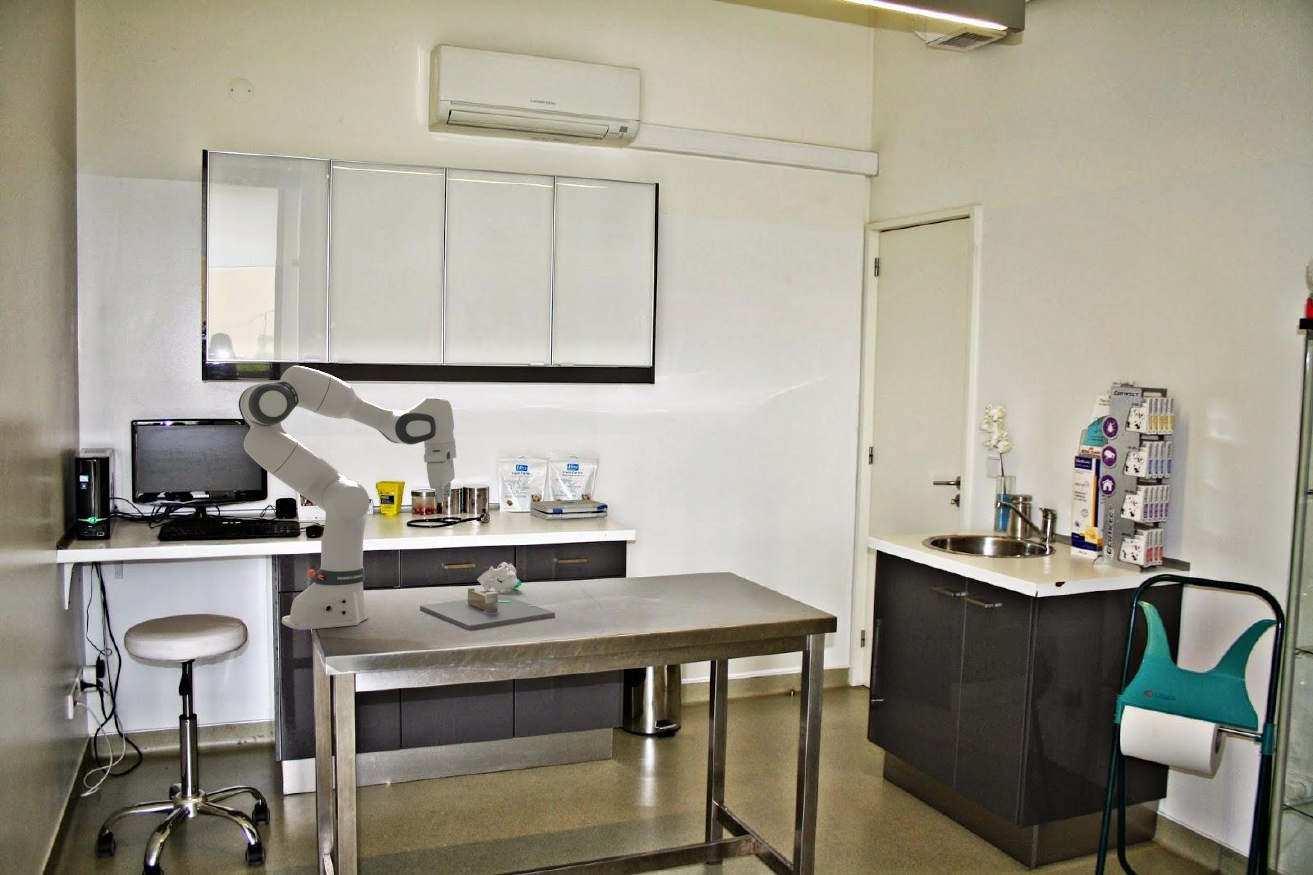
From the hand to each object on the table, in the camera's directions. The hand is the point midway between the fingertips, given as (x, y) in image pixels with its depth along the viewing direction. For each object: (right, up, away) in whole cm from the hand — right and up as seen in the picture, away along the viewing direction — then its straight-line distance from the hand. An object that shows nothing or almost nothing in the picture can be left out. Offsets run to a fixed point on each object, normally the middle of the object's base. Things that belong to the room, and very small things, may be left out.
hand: (444, 499), depth 292 cm
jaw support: (+13, -31, +29) cm, 45 cm away
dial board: (+13, -33, -2) cm, 35 cm away
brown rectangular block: (+12, -31, -2) cm, 33 cm away
